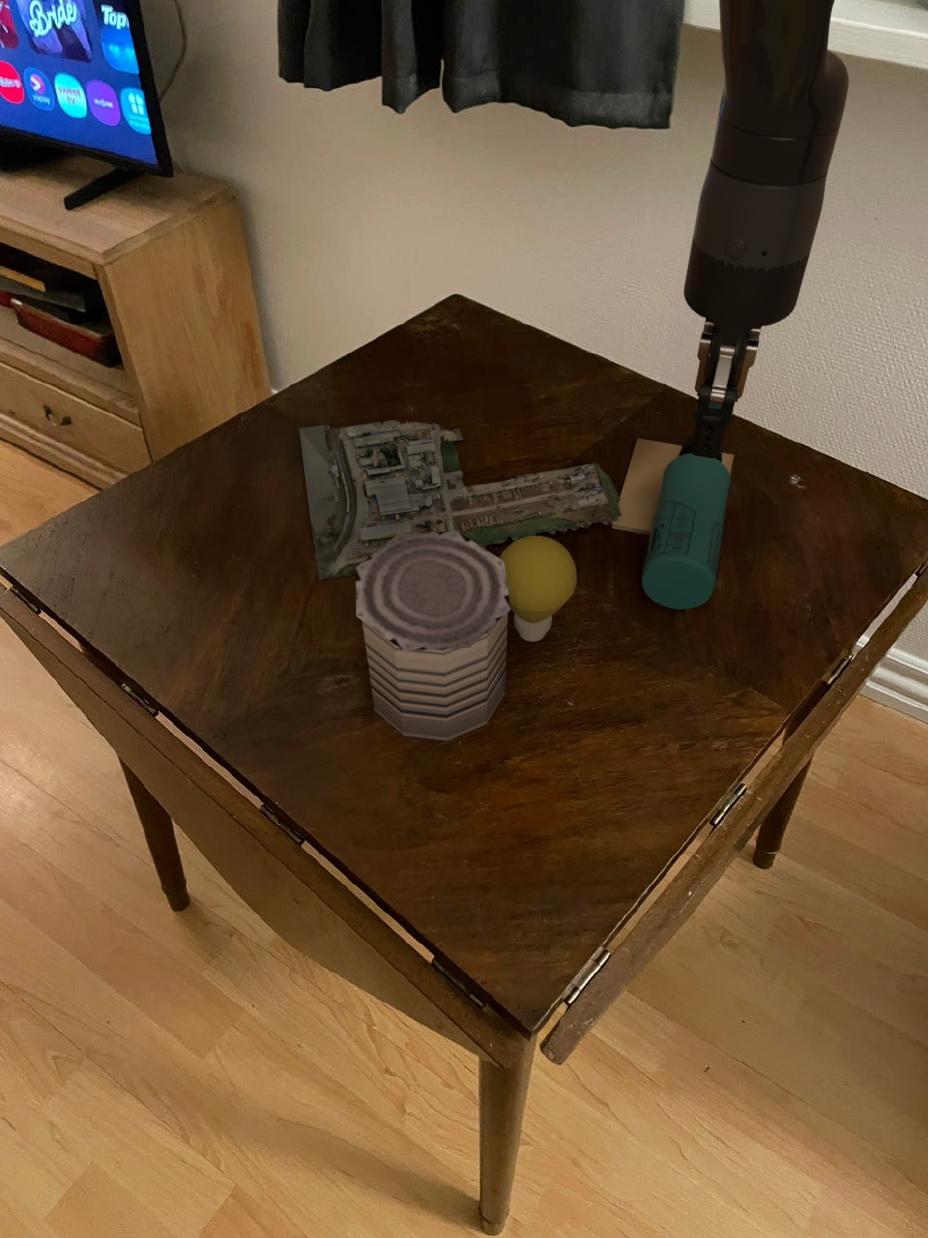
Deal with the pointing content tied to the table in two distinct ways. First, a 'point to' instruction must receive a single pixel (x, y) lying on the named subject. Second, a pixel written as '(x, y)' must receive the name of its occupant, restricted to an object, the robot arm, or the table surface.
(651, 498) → the mat
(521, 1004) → the table surface
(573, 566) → the light bulb
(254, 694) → the table surface
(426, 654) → the can
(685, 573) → the beverage bottle
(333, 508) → the model
